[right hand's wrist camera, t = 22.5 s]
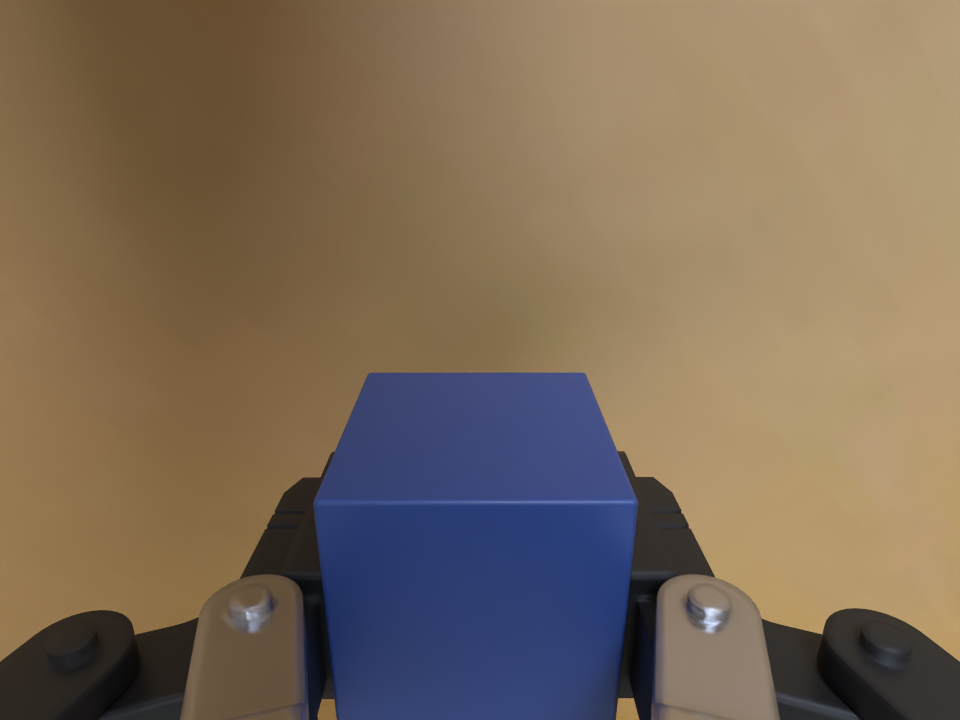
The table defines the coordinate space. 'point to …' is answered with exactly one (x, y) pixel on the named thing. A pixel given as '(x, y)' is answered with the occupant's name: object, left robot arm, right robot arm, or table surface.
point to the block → (476, 550)
